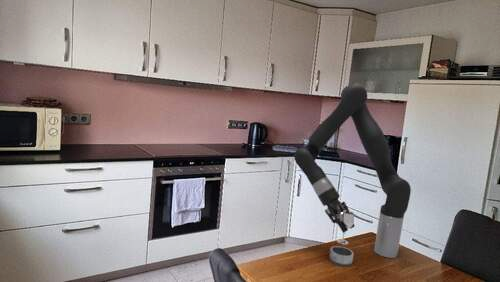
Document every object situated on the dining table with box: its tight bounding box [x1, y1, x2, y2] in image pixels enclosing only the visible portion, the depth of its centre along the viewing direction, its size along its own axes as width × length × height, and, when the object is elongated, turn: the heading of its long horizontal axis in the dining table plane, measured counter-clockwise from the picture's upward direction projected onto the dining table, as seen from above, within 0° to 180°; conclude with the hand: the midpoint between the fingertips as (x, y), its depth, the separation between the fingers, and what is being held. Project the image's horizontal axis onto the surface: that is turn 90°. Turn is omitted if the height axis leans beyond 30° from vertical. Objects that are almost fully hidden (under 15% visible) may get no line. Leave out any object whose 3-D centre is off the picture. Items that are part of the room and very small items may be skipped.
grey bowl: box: [329, 245, 355, 267], centre depth 132 cm, size 9×9×4 cm
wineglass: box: [336, 210, 355, 245], centre depth 131 cm, size 6×6×12 cm
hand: (349, 229), depth 130 cm, fingers closed on wineglass, 5 cm apart
